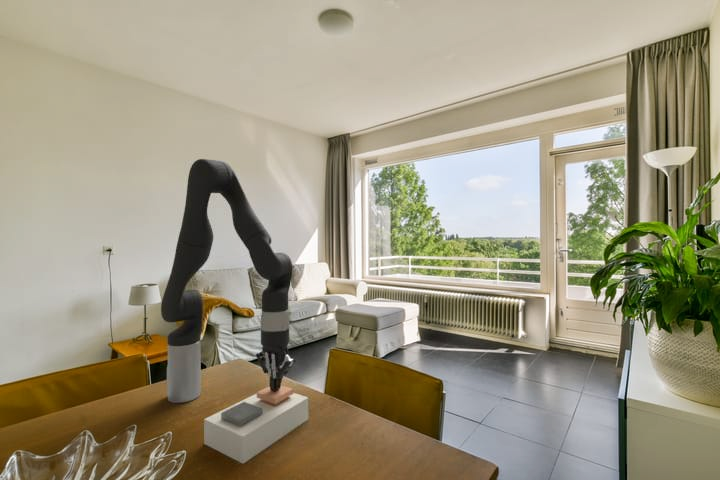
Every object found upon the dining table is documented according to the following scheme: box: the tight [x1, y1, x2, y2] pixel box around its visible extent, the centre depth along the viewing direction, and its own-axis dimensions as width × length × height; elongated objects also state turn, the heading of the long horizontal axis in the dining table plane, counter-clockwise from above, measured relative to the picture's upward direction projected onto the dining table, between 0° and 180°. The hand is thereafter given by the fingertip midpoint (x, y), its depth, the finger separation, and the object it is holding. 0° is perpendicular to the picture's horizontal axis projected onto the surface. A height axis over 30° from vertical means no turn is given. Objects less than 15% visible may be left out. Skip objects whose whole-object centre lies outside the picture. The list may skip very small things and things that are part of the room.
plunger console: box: [203, 392, 309, 464], centre depth 89 cm, size 14×22×6 cm, turn 148°
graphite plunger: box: [221, 402, 263, 427], centre depth 85 cm, size 7×7×6 cm
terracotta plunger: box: [256, 384, 294, 406], centre depth 94 cm, size 7×7×6 cm
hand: (275, 390), depth 94 cm, fingers closed
